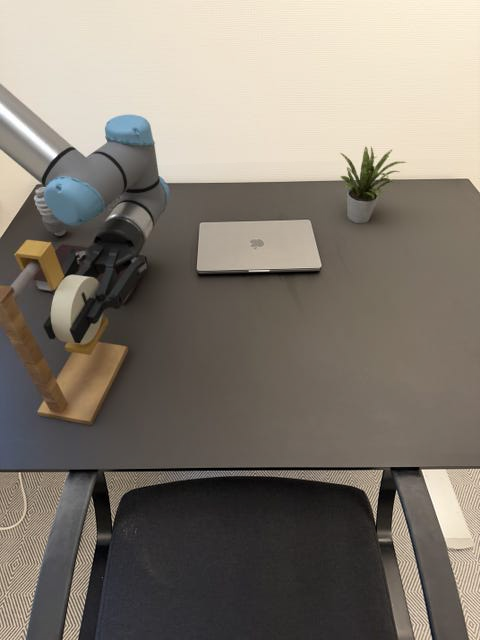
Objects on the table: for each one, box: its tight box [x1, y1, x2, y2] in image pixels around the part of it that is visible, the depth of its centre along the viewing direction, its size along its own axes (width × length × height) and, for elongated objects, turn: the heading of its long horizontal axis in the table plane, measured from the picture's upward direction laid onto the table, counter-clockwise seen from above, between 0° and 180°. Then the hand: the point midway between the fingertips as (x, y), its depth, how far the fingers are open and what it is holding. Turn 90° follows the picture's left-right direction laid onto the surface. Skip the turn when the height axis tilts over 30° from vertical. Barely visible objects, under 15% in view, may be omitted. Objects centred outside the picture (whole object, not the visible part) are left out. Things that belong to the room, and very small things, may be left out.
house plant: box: [339, 146, 407, 224], centre depth 104 cm, size 14×14×16 cm
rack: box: [0, 259, 129, 426], centre depth 70 cm, size 9×16×26 cm, turn 168°
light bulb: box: [33, 186, 70, 237], centre depth 103 cm, size 6×6×12 cm
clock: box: [14, 239, 109, 355], centre depth 68 cm, size 7×10×17 cm
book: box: [32, 243, 148, 304], centre depth 96 cm, size 12×19×3 cm, turn 77°
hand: (61, 334), depth 65 cm, fingers closed on clock, 3 cm apart
